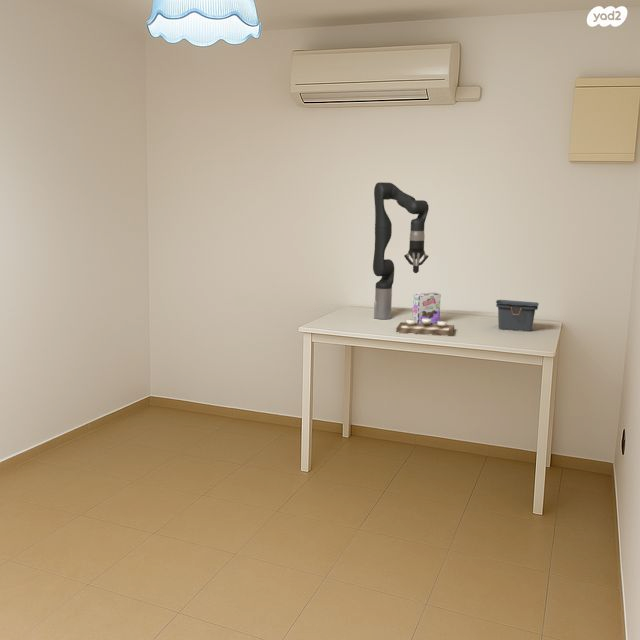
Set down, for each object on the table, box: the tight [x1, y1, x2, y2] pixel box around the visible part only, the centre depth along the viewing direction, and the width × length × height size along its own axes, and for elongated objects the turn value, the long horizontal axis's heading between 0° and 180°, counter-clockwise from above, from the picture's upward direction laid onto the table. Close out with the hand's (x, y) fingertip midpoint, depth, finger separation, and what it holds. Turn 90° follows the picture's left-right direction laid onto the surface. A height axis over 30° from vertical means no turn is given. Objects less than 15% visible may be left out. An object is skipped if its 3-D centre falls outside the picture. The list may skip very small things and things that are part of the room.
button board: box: [395, 322, 455, 337], centre depth 344 cm, size 28×16×3 cm, turn 76°
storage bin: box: [495, 299, 540, 332], centre depth 351 cm, size 21×16×14 cm
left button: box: [405, 318, 416, 325], centre depth 349 cm, size 5×5×2 cm
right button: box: [436, 320, 448, 327], centre depth 345 cm, size 5×5×2 cm
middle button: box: [422, 318, 431, 324], centre depth 347 cm, size 5×5×2 cm
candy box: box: [412, 292, 441, 324], centre depth 366 cm, size 14×6×16 cm, turn 112°
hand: (415, 273), depth 350 cm, fingers closed
